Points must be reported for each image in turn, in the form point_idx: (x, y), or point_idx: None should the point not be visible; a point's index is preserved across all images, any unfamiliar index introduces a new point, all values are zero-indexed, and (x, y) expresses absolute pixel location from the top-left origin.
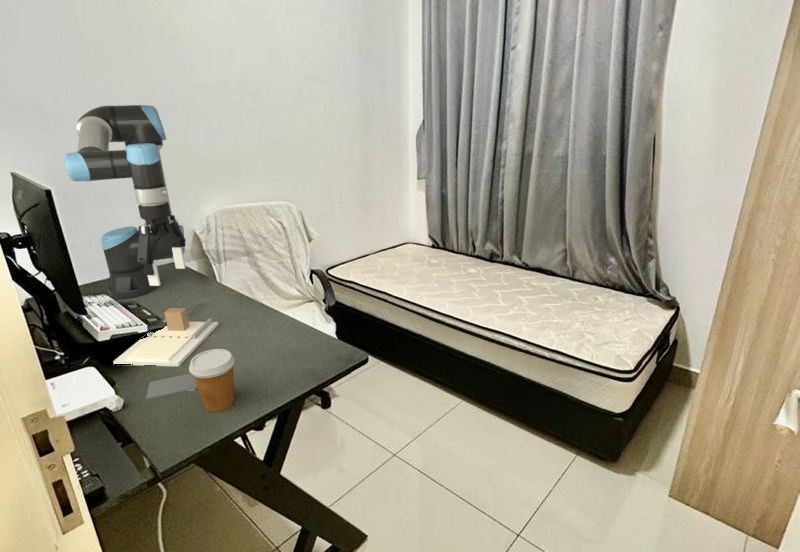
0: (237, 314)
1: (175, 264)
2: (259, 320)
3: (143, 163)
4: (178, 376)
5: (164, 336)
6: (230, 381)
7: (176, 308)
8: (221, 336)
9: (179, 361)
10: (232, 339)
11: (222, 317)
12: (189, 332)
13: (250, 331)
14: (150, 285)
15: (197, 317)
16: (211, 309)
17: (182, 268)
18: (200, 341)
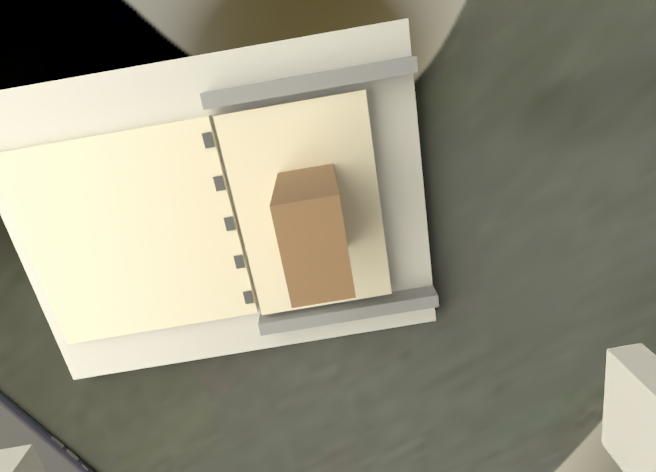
0: (547, 329)
1: (647, 393)
2: (493, 438)
3: None
4: (16, 422)
5: (225, 189)
6: None
7: (342, 242)
8: (334, 380)
9: (86, 377)
10: (321, 428)
11: (511, 284)
12: (286, 288)
13: (395, 452)
14: (3, 456)
15: (502, 162)
16: (605, 174)
17: (604, 423)
18: (258, 346)
